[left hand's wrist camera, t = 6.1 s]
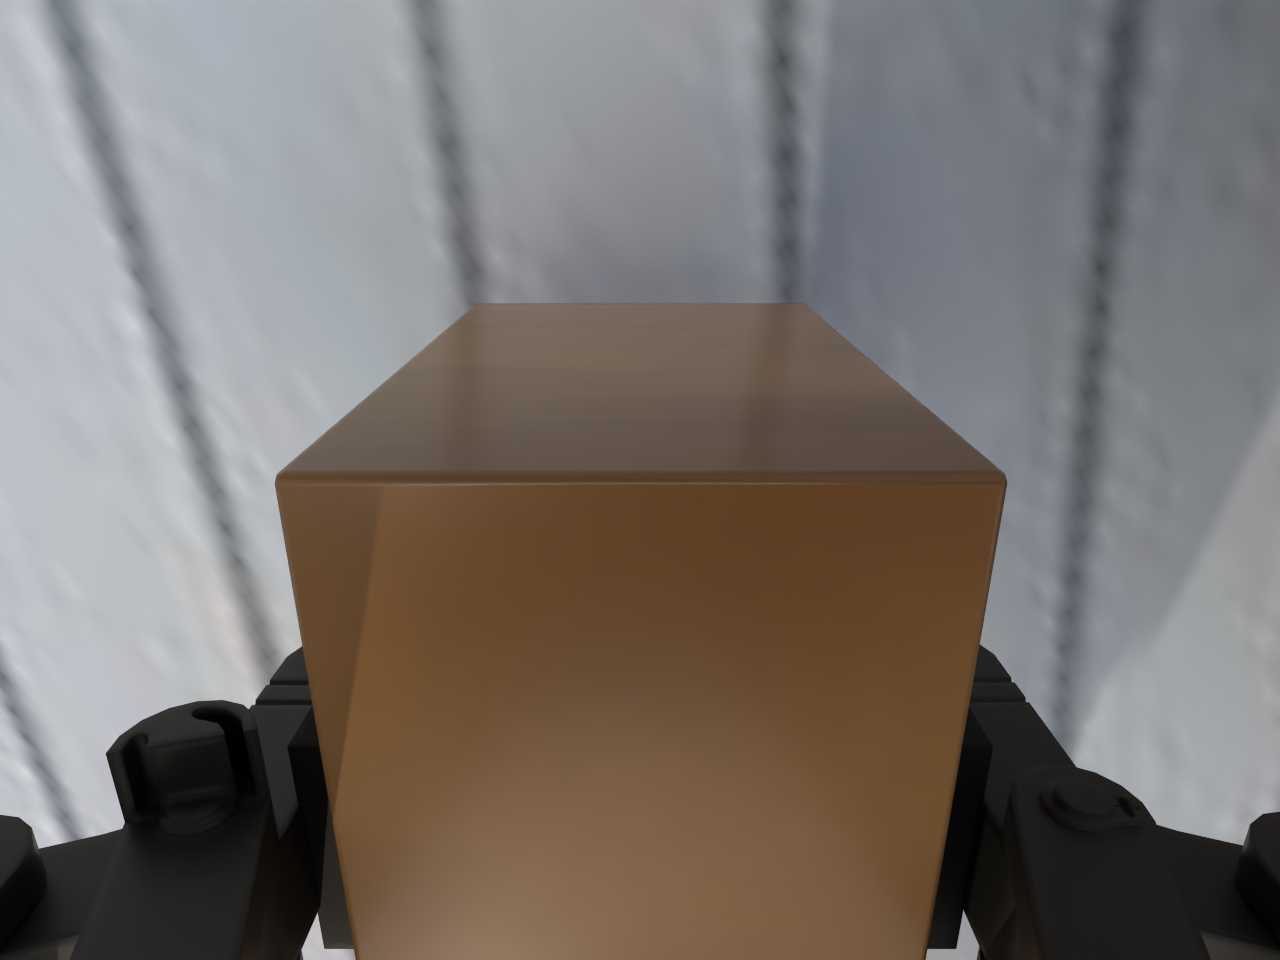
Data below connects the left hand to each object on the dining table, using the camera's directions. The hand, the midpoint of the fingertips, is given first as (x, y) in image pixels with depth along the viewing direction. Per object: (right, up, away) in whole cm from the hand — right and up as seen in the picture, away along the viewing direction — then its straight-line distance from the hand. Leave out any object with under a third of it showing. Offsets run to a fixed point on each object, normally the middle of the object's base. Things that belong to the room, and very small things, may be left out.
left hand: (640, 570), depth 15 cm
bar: (0, -29, +12) cm, 31 cm away
